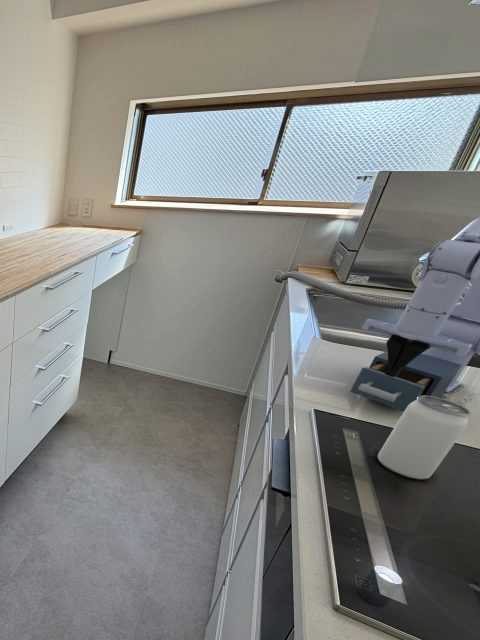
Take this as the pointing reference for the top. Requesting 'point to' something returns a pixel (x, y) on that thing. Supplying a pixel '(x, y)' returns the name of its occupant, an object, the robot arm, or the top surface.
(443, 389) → the cabinet
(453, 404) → the can
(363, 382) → the drawer
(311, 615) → the top surface
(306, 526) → the top surface
